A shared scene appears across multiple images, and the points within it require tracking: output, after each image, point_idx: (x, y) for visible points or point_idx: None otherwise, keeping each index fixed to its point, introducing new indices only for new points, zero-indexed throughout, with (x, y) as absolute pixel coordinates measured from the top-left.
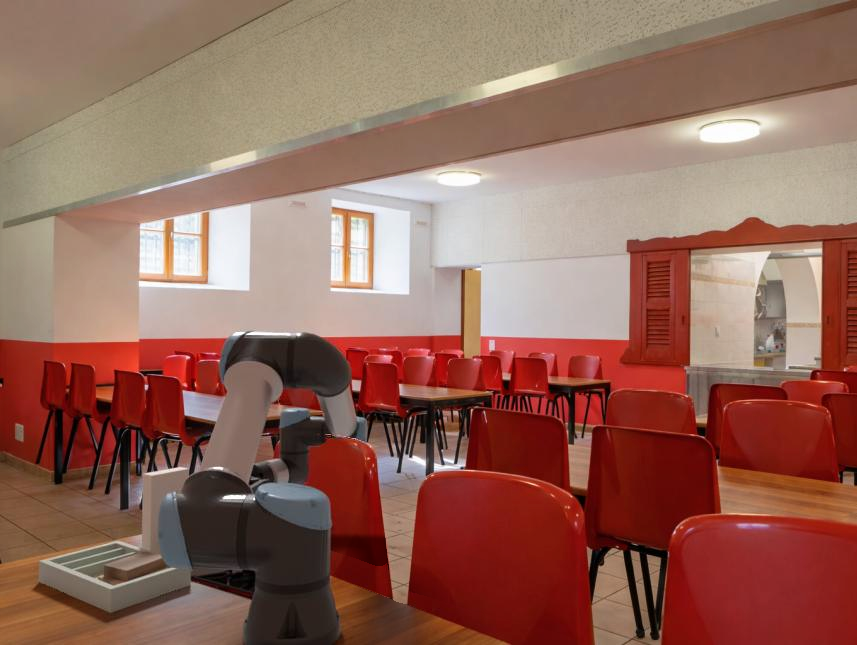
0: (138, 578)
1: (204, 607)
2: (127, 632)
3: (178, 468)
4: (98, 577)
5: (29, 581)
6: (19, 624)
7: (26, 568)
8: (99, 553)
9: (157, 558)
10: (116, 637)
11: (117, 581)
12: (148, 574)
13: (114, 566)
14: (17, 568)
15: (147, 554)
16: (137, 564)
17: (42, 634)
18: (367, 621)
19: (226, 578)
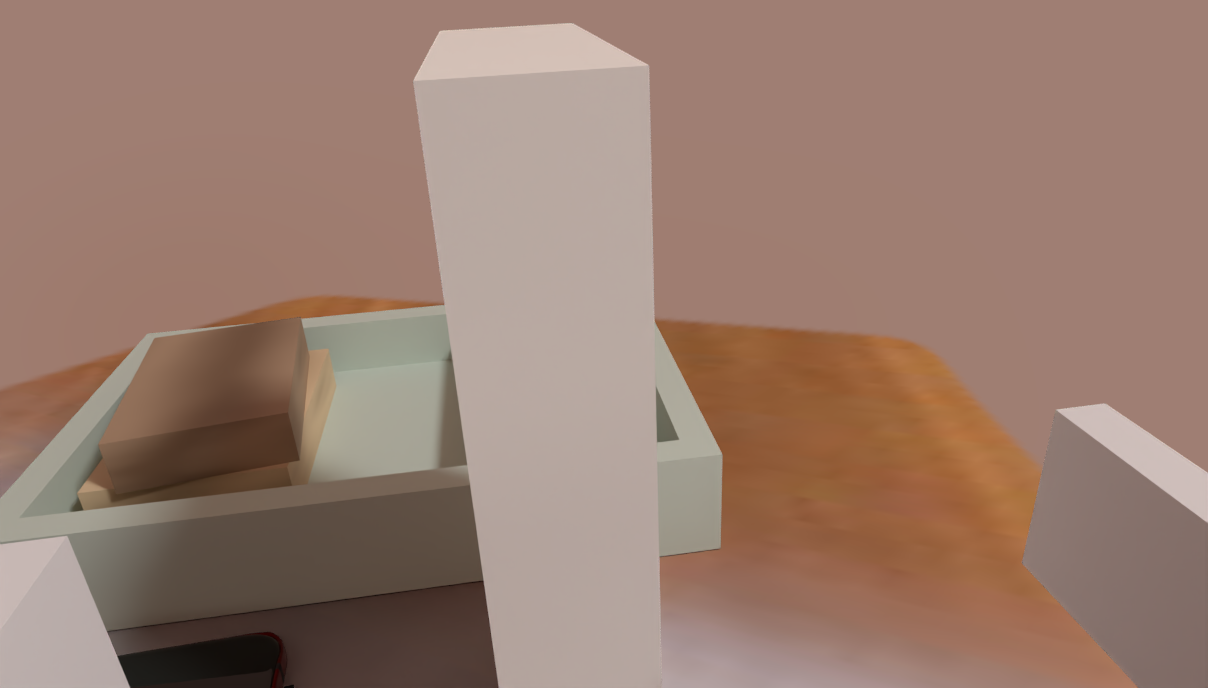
0: (120, 387)
1: None
2: (3, 401)
3: (561, 61)
4: (322, 351)
5: (669, 346)
6: (352, 307)
7: (827, 357)
8: (659, 419)
9: (129, 416)
10: (17, 384)
11: None
12: None
13: (246, 328)
14: (844, 345)
15: (230, 408)
16: (167, 365)
17: (242, 320)
18: None
19: None
